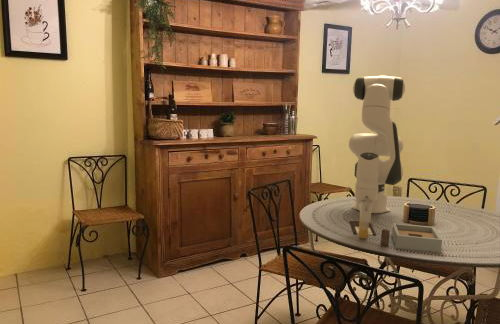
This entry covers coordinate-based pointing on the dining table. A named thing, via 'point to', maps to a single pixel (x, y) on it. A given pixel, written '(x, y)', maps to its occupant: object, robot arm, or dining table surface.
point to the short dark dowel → (385, 237)
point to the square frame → (416, 238)
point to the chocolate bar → (356, 228)
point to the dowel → (363, 231)
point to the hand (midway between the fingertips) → (363, 227)
